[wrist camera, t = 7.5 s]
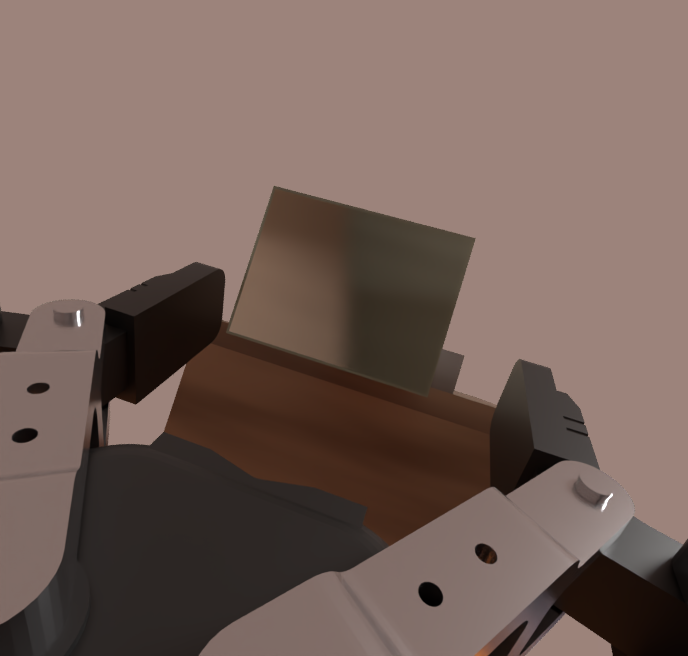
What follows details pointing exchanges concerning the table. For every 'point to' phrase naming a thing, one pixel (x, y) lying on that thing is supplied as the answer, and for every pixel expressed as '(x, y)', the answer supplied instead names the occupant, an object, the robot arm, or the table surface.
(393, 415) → the walnut cabinet
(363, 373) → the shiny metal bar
